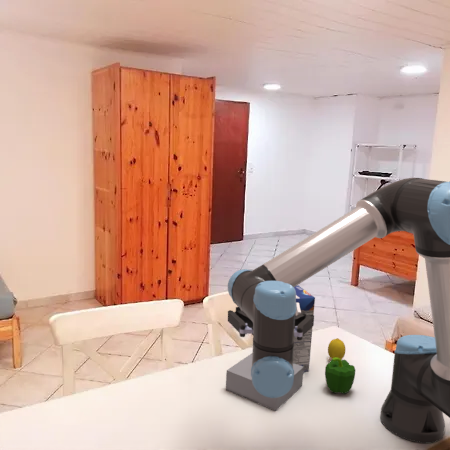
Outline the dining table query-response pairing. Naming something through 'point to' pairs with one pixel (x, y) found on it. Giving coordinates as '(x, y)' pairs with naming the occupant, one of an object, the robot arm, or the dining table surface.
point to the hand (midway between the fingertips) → (270, 306)
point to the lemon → (336, 349)
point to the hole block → (243, 386)
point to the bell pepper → (339, 375)
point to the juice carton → (304, 346)
